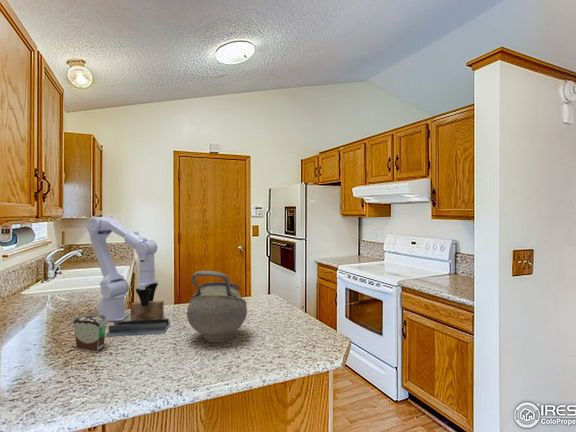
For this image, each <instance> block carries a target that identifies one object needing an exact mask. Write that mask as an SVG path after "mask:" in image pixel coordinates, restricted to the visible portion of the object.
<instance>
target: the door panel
mask: <svg viewBox="0 0 576 432" xmlns="http://www.w3.org/2000/svg"><path fill="white" fill-rule="evenodd" d="M164 302H165V301H164V300H157V301H154V300H153V301H149V302H148V306H142V305H141V302H140V301H134V302H132V303H130V321H134V320H153V319H165V313H164V312H165V311H164V308H165V307H164V305H165V304H164Z"/></svg>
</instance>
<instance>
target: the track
mask: <svg viewBox="0 0 576 432" xmlns="http://www.w3.org/2000/svg"><path fill="white" fill-rule="evenodd" d="M170 325H171V321H170V319H169V318H164V319H153V320H134V321H131V320H120V321H113V325H109V326H108V332H107V333H105V337H106V338H107V337H108V338H109V337H123V336H125V335H128V336H141V335H142V336H145V335H160V334H161V335H162V334H165V333H166V331H167V330H168V329H169V327H170Z"/></svg>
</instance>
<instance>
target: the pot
mask: <svg viewBox="0 0 576 432" xmlns="http://www.w3.org/2000/svg"><path fill="white" fill-rule="evenodd" d="M196 277H212V278H213V277H214V278H220V279H223V280H224V281H214V282H213V281H212V282H205V283H203V284H201V285H199V284H198V283H197V282H198V281H196ZM191 281H192V284H193V285H194V287H195V289H196V292H195V293H194V294H192V295H191V297H192V298H191V299H190V300H189V302H188V303H189V304H188V306H187V308H186V309H187V310H186V317H187V321H188V323H189V325H190V327H191V328H192V329H193V330H195V331H196V332H197V333H199V334H201V335H202V337H203V339H204V341H207V342H211V343H221V342H228V341H229V340H231V339H232V338H233V337H234V336H235V335H234V333H235V331H237V330H238V329H240V328H241V326H242V325H243V324H244V323H245V322H244V321H246V318H247V314H248V308H247V301H246V300H245V299H243V297H242V295H241V294H240V293H239V290H240V286H239V285H238V284H236V283H233V282H230V278H229V276H228V275H227V274H225V273H223V272H220V271H215V270H199V271H196V272H194V273H193V274H192V276H191Z"/></svg>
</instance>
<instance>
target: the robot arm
mask: <svg viewBox="0 0 576 432" xmlns="http://www.w3.org/2000/svg"><path fill="white" fill-rule="evenodd" d="M86 229H87V232H88V234H89V240H90V243H91V246H92V249H93V252H94V254H95V258H96V260H97V263H98V265H99V268H100V272H101V274H102V276H103V278H102V280H101V281H100V282H99V286H100V294H101V296H102V297H103V298H100V300H99V301H98V302H99V303H98V314H100V315H105V316H106V318H107V320H108V322H115V321H124V319H125V318H126V317H127V316H128V317H129V313H126V308H125V307H126V305H125V304H126V300H125V299H126V296H127V293H128V292H129V289H130V285H129V282H128V281H127V280H126V279H125V276H124V275H122V274H120V273H118V270H117V268H116V264H115V262H114V259H113V256H112V254H111V251H110V248H109V245H108V242H107V238H108V237H110V235H111V234H112V233H114V234H116V235H118V236H119V237H121V238H123V239H124V242H125V244H127V245H128V246H129V247H131V248H133V249H134V250H135V252H136V254H137V258H138V260H139V261H138V262H139V263H138V264H139V266H138V268H139V281H138V288H136V289H135V292H136V294H137V296H138V297H139V298H138V299H139V302H141V305H142V306H148V302H153V301H154V297H155V293H156V290H157V286H158V285H159V283H158V282H159V280H155V279H156V277H155V276H156V275H155V272H156V270H155V254H156V253H157V251H158V245H157V242H156V241H155V240H152V239H151V240H150V239H149V240H148V239H147V237H144V236H142V235H141V234H140V233H139V231H135V230H133V231H132V230H131V231H130V230H129V229H127V227H125V226H124V225H122V224H121V223H120V222H119V221H118V219H116V218H115V217H113V216H91V217H90V218H88V220H87V223H86Z"/></svg>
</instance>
